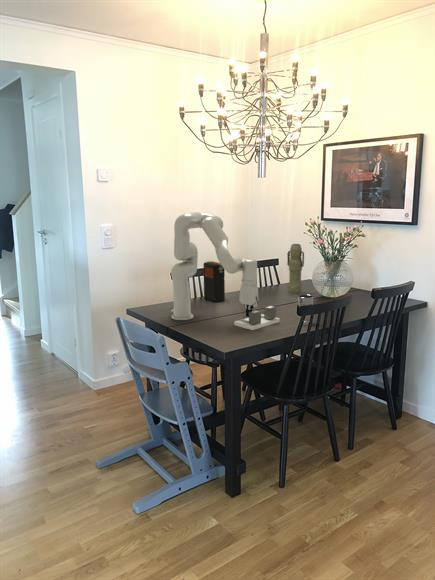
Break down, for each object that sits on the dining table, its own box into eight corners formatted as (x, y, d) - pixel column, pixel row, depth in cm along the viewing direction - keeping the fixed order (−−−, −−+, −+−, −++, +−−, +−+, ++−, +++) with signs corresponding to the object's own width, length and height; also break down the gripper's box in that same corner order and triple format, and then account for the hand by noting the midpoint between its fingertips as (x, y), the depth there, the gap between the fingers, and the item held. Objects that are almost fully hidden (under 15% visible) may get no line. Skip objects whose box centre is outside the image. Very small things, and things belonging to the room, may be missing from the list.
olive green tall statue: (288, 292, 328) (289, 243, 320) (305, 294, 322) (306, 243, 315) (284, 295, 320) (285, 244, 313) (300, 296, 314) (302, 245, 307)
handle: (264, 318, 252) (264, 307, 251) (270, 316, 256) (270, 305, 254) (269, 319, 249) (269, 308, 248) (275, 317, 253) (275, 306, 252)
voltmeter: (226, 301, 304) (226, 263, 299) (215, 303, 299) (215, 264, 294) (213, 297, 317) (212, 260, 311) (202, 298, 312) (201, 261, 307)
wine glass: (314, 324, 249) (315, 297, 246) (301, 325, 246) (302, 298, 243) (308, 320, 256) (308, 294, 253) (294, 321, 254) (295, 295, 251)
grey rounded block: (248, 323, 243) (248, 311, 242) (255, 321, 246) (255, 310, 245) (254, 324, 240) (254, 313, 239) (260, 322, 244) (261, 311, 242)
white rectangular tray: (234, 325, 249) (234, 321, 248) (261, 317, 263) (261, 313, 263) (252, 330, 239) (252, 326, 239) (279, 322, 254) (279, 318, 253)
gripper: (234, 281, 245) (234, 315, 249) (255, 285, 234) (254, 320, 238) (244, 279, 250) (243, 312, 254) (265, 283, 239) (264, 318, 243)
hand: (249, 316), depth 246 cm, fingers closed
